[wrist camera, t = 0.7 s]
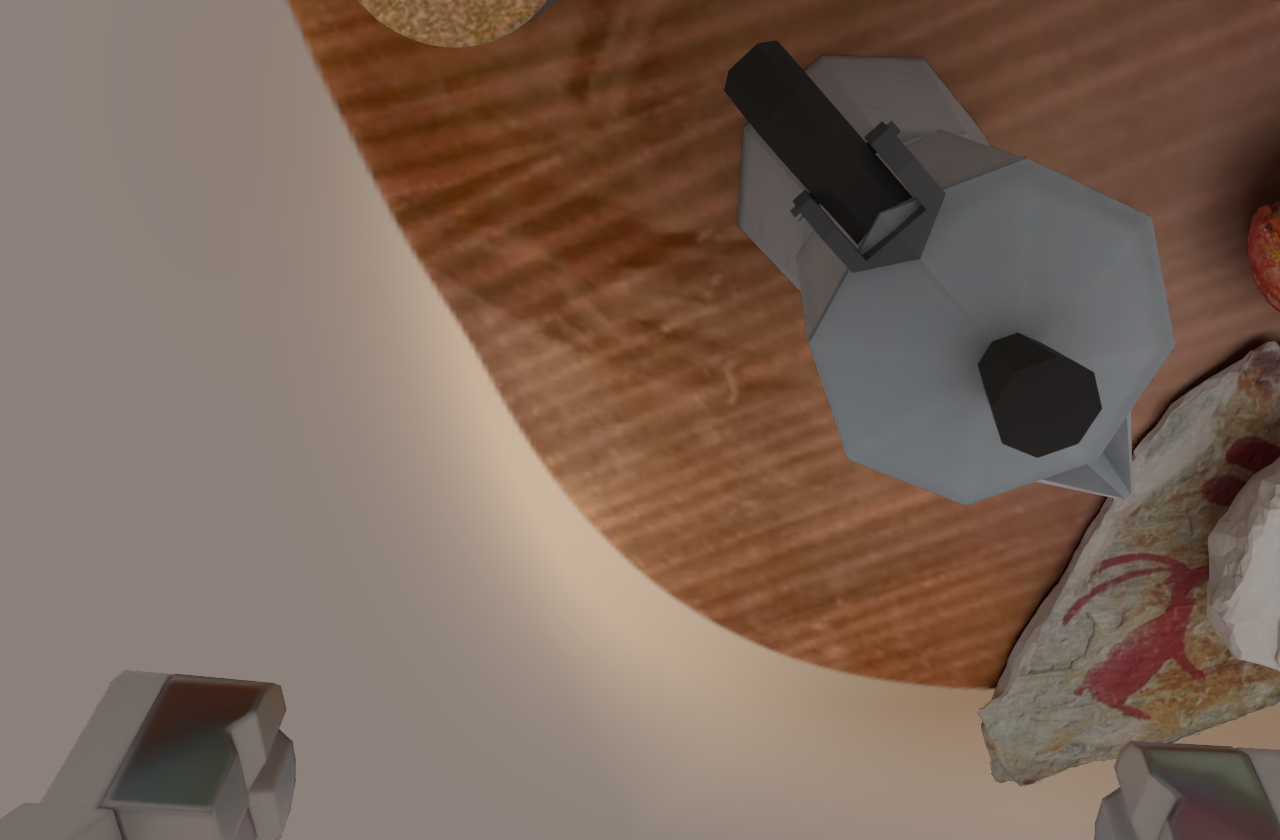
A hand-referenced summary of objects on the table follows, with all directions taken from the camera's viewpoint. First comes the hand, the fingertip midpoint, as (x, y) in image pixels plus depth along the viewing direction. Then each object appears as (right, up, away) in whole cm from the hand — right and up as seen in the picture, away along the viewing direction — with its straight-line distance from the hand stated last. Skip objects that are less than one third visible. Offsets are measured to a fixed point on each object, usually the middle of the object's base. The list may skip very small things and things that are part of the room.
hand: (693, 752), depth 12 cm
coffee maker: (+6, +12, +29) cm, 32 cm away
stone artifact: (+30, -4, +39) cm, 50 cm away
